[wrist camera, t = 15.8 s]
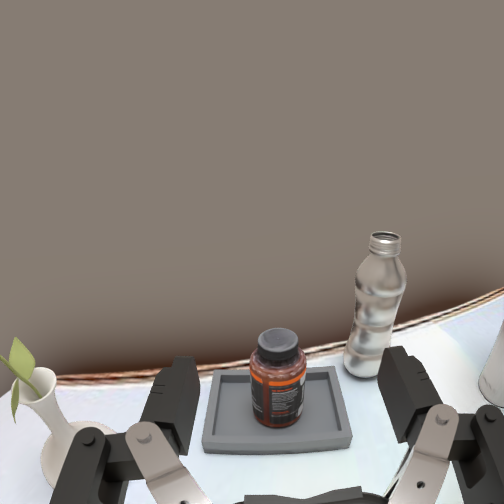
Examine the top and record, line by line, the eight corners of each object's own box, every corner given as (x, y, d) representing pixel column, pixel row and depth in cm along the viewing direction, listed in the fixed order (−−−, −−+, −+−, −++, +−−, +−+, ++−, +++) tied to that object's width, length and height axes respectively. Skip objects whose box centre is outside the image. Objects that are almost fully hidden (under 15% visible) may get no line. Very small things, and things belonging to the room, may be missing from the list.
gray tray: (332, 378, 40) (334, 365, 39) (348, 448, 28) (352, 436, 27) (216, 382, 40) (214, 369, 39) (204, 453, 29) (201, 441, 28)
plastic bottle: (338, 355, 44) (352, 227, 37) (380, 353, 43) (402, 228, 36) (344, 385, 38) (364, 245, 31) (390, 381, 37) (422, 245, 30)
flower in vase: (55, 430, 29) (-30, 251, 20) (133, 429, 32) (64, 233, 23) (43, 512, 17) (-108, 319, 8) (137, 520, 20) (-4, 312, 11)
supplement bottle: (312, 412, 33) (321, 340, 29) (274, 438, 30) (274, 367, 26) (280, 387, 38) (281, 315, 34) (242, 408, 34) (236, 336, 30)
